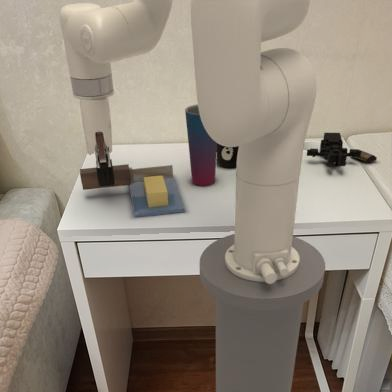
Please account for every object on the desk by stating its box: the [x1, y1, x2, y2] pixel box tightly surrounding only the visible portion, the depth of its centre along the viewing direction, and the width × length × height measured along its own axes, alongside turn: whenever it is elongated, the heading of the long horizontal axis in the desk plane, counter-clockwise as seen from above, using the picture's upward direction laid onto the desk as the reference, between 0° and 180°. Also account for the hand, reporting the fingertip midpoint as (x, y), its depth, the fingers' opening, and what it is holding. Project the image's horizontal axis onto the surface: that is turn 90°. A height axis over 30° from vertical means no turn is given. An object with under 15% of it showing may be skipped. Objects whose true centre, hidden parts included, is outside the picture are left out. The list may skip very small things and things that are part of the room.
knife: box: [79, 163, 174, 191], centre depth 103 cm, size 2×19×4 cm, turn 100°
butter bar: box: [143, 175, 168, 207], centre depth 101 cm, size 8×4×3 cm, turn 10°
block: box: [354, 148, 378, 162], centre depth 116 cm, size 4×6×2 cm, turn 30°
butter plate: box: [128, 176, 186, 218], centre depth 105 cm, size 18×10×1 cm, turn 10°
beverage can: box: [216, 143, 239, 169], centre depth 113 cm, size 7×7×12 cm
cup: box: [184, 104, 217, 187], centre depth 105 cm, size 7×7×15 cm
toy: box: [306, 132, 362, 167], centre depth 114 cm, size 12×5×15 cm
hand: (106, 181), depth 103 cm, fingers closed on knife, 2 cm apart
